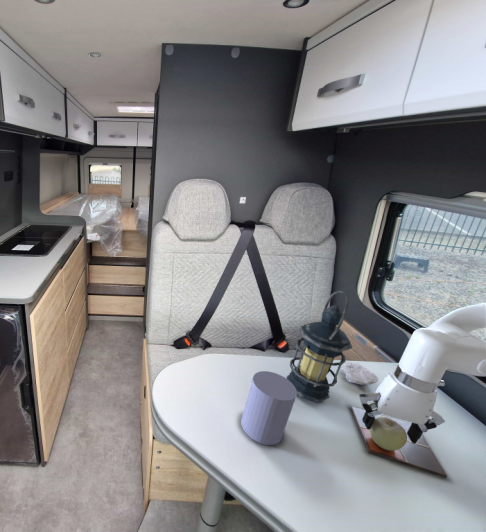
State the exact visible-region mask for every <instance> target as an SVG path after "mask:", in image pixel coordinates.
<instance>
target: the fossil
mask: <svg viewBox="0 0 486 532" xmlns="http://www.w3.org/2000/svg"><path fill="white" fill-rule="evenodd" d="M341 371H342V372H343V374H344V375H345V379H346V381H347V382H348V383H349V382H350V383H352V384H353V383H354V384H357V385H360V386H366V385H374V384H376V383H378V381H379V378H378V377H377V375H376V374H375V373H373V372H371V370H369V369H368V368H366V367H365V366H363V365H361V364H360V363H353V362H345V363H343V364H342V365H341Z"/></svg>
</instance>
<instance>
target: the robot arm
mask: <svg viewBox="0 0 486 532" xmlns="http://www.w3.org/2000/svg"><path fill="white" fill-rule="evenodd" d="M484 328H486V302H482V303H476V304H471V305H466V306H462V307H459V308H457V309H454V310H452V311H450V312H448V313H446V314H445V315H443V316H442V317H440V318H438V319H437V320H435V321H433V322H432V323H430V325H428V326H427V327H420V328H417V329H415V330H414V331H413V333H412V334H411V336H410V338H409V340H408V342H407V345H406V347H405V349H404V350H403V353H402V355H401V357H400V359H399V362H398V364H397V366H396V368H395V370H394V372H389V373H388V374H387V375H385V377H384V378H383V379H382V380H381V382H380V383H379V384H378V387H377V388H376V389H375V391H374V393H373V392H372V393H360V394H358V397H359V400H360V404H361V406H362V408H363V410H365V411H366V412H365V414H364V416H363V418H362V420H363V423H364V424H365V426H366V428H367V429H371V427H372V425H373V423H374V421H375V417H374V416H376V415H379V414H380V415H384V416H387V417H390V418H394V419H397V420H401V421H404V422H408V423H411V426H410V428H409V430H408V432H407V435H408V437H409V438H410V440H411V442H412V443H415V444H416V442H417V440H418V439H420V437H421V435H422V436H423V433H427V432H428V431H429V430H433V429H436V428H437V427H438V426H441V425H442V424H444V423H445V422H446V420H445V418H444V417H443V416H442V415H440V414H439V413H438V412H436V411H435V410H434V408H435V405H436V401H437V396H438V395H437V394H438V391H437V389H438V387H445V385H446V382H445V380H443V376H444V374H445V373H446V371H447V370H448V369H449V370H453V371H456V372H460V373H463V374H467V375H470V376H476V377H486V341H484V340H482V339H480V338H479V337H477V336H475V335H474V334H472V333H471V332H474V331H476V330H479V329H484ZM368 402H371V403H368ZM430 417H431V418H430Z"/></svg>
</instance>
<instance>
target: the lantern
mask: <svg viewBox="0 0 486 532" xmlns="http://www.w3.org/2000/svg"><path fill="white" fill-rule="evenodd" d="M339 293H340V294H343V295H344V296H345V302H344V303H345V305H344V309H343V312H342V311H341V309H340V307H339V305H338V304H333V305H331V306H329V304H330V302H331V300H332V299H333V297H334V296H336V295H337V294H339ZM349 303H350V296H349V294H348V293H347V292H345V291H342V290H337V291H334V292H333V293H332V294H331V295H329V297H328V298H327V299H326V301H325V304H324V307H323V311H322V313H321V319H320V321H313V322H309V323H306V324H303V325H301V326H300V327H299V330H300V333H301V336H300V338H299V339H297V340H296V343H295V347H296V349H295V353H294V355H293V358H292V359H290V361H289V368H290V369H291V370H290V372H289V374H288V375H286V379H288V380H289V381H290V382H291V383H292V384H293V385H294V386H295V388H296V390H297V396H298V397H300V398H301V399H305V400H307V401H312V402H315V403H321V402H323V401H325V400H327V399H330V394H329V393H330V388H331V387H334V386H335V385H336V384H337V383H338V375H339V372H340V369H341V368H342V366H343V365H344V364H345V363H346V356H345V354H344V353H343V352H346V351H349V350H351V349H353V345H352V343H351V340H350V338H349V337H348V335H347V334H346V332H345V331H344V330H342V329H341V327H342V324H343V323H344V321H345V318H346V315H347V313H348V309H349ZM328 306H329V307H328ZM302 341H303V345H304V347H303V348H301V343H302ZM299 352H300V353H301V354H300V356H298V357H297V355H298V353H299ZM337 357H341V359H340V361H339V362H334V360H335V358H337ZM295 361H298V363H297V366H296V365H295ZM332 366H333V367H336V366H337V369H336V371H335V372H334V370H332ZM329 373H330V374H331V375H332V377H333V379H332V381H331V383H329V381H328V377H327V375H329Z"/></svg>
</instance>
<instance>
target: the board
mask: <svg viewBox="0 0 486 532" xmlns="http://www.w3.org/2000/svg"><path fill="white" fill-rule="evenodd" d="M350 410H351V413H352V416H353V418H354V420H355V423H356V425H357V428H358V431H359V433H360V436H361V438H362V440H363V442H364V445H365V448H366V451H367V453H368V454H370V455H374V456H377V457H380V458H383V459H386V460H389V461H392V462H394V463H395V462H396V463H398V464H401V465H405V466H408V467H411V468H413V469H417V470H420V471H423V472H426V473H429V474H432V475H435V476H438V477H442V478H444V479H447V477H448V475H447V473H446V471H445V469H444V468H443V466H442V465H441V463H440V462H439V460H438V459H437V457H436V455H435V454H434V452H433V450H432V448H431V447H430V445H429V443H428V442H427V441H426V439H425V437H424V435H423V434H422V435H421V437H420V439H418V440H417V442H416V444H415V443H412V442H411V440H410V438H409V437H408V435H407V441H406V444H405V445H404V446H403V447H402V448H401V449H398V450H394V451H392V450H386V449H383V448H381V447H380V446H378V445H377V444H376V443H375V442H374V440H373V439H372V437H371V433H370V429H367V428H366V426H365V424H364V423H363V420H362V418H363V416H364V414H365V412H366V411H365V409H364V408H363V409H362V408H360V407H356V406H352V405H351V406H350ZM374 417H375V418H378V417H387V418H390V419H392V420H394V421H395V422H397V423H398V424H399V425H401V426H402V427H403V428H404V430H405V431H406V434H407V432H408V430H409V428H410V426H411V424H412V422H408V421H405V420H401V419H398V418H395V417H391V416H388V415H385V414H379V415H376V416H374Z"/></svg>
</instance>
